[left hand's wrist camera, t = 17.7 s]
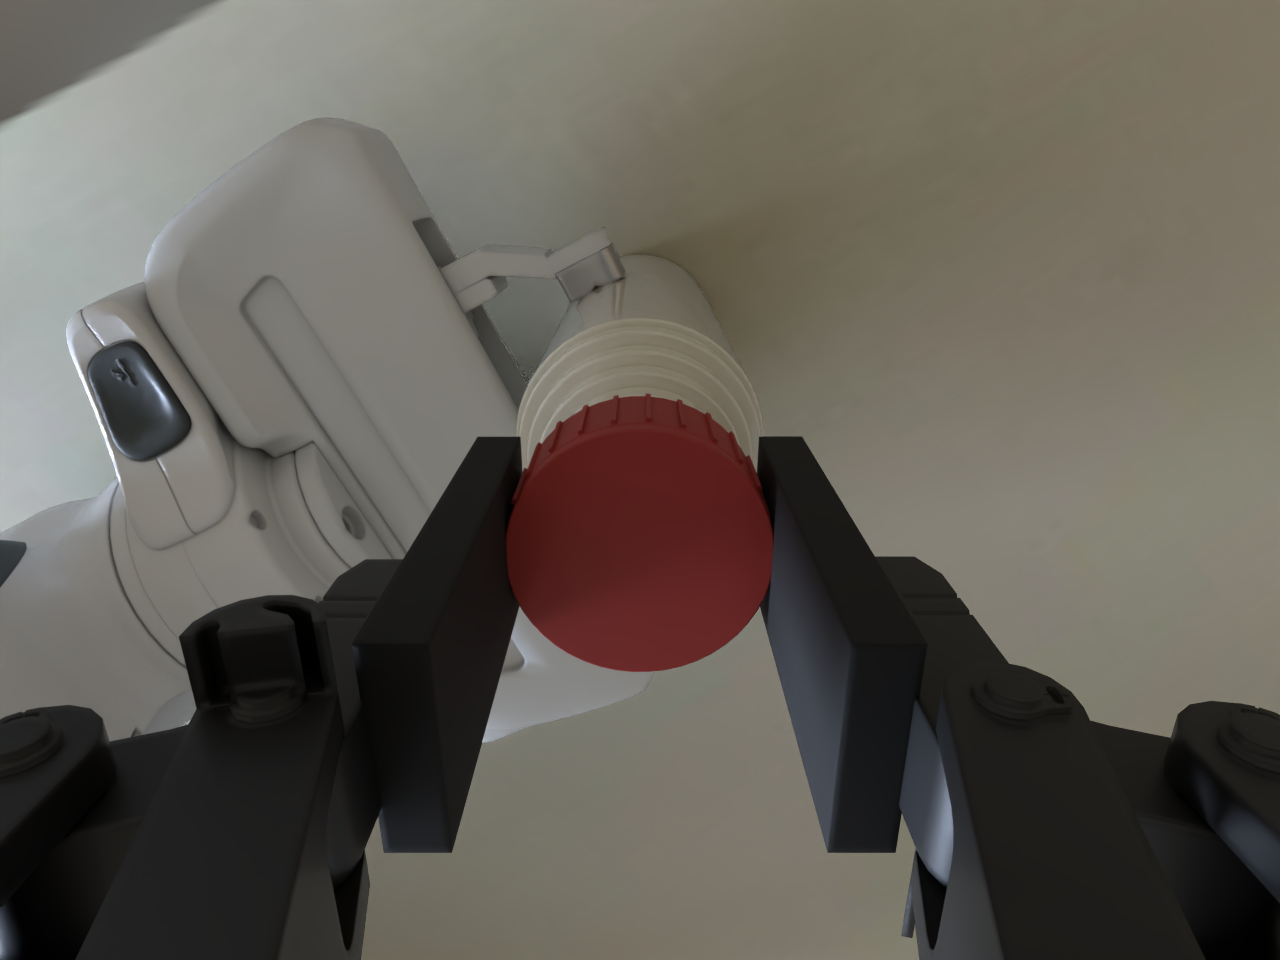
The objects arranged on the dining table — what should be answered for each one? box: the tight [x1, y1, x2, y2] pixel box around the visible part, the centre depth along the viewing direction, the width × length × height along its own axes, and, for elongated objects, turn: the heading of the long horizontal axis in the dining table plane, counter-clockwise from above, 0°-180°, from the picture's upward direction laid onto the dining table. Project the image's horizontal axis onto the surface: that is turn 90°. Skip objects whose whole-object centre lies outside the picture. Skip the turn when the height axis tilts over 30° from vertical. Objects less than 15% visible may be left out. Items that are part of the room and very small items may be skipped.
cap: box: [506, 393, 774, 672], centre depth 13 cm, size 4×4×2 cm
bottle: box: [516, 255, 764, 473], centre depth 22 cm, size 6×6×19 cm
